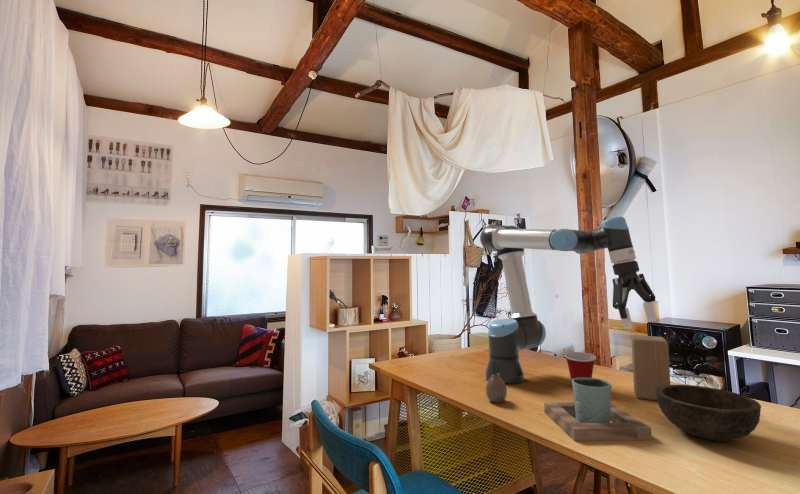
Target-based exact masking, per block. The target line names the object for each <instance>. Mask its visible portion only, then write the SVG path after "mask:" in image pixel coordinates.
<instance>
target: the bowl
mask: <svg viewBox="0 0 800 494" xmlns="http://www.w3.org/2000/svg"><path fill="white" fill-rule="evenodd" d="M656 396H657V401H656V402H657V404H658V406H659V409H660V410H661V412H662V413H663V414H664V416H665V417H666V418H667V420H668V422H671V423H672V424H673V425H674V426H675V427H677V428H678V429H680V430H682V431H684V432H686V433H688V434H689V435H691V436H694V437H698V438H701V439H705V440H710V441H716V442H727V441H733V440H739V439H742V438H745V437H747V436H749V435H750V434H752V432H754V430H756V428H757V426H758V425H759V423H760V418H761V410H762V405H761V404H760V403H759V402H758V401H756V400H755V399H752V398H751V397H748V396H745V395H744V394H739V393H736V392H734V391H733V392H732V391H729V390H724V389H719V388H715V387H710V386H709V387H708V386H702V385H692V384H691V385H690V384H670V385H665V386H660V387H658V388H657V389H656Z"/></svg>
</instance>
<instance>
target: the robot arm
mask: <svg viewBox="0 0 800 494" xmlns="http://www.w3.org/2000/svg"><path fill="white" fill-rule="evenodd" d="M600 223H601V224H600V226H601V227H599V228H595V229H591V230H582V229H581V230H580V229H579V230H578V229H577V230H576V229H570V228H558V229H555V228H553V229H549V228H548V229H547V228H545V229H543V228H541V229H540V228H532V229H531V228H520V227H518V226H514V225H501V224H500V225H499V224H490V225H488V226H486V227H484V228H483V229H482V230H481V233H480V237H479V240H480V243H481V246H482V247H483V248H484V249H486V250H487V251H491V252H496V253H497V254H496V255H497V258H498V259H499V260H501V262H502V269H503V273H504V279H505V284H506V290H507V296H508V301H509V306H510V311H511V315H510V316H509V317H508V318H500V319H496V320H495V319H494V320H492V321H491V322H490V323H489V324H488V332H487V334H488V352H489V353H488V362H487V365H486V368H485V372H484V373H485V374H484V375H485V377H486V378H487V379H488V380H489V379H490V378H491V376H492V374H499V375H500V377H501V379H502V380H503V381H504V383H509V384H508V385H513V383H516V384H520V382H521V383H523V382H524V381H525V374H524V371H523V368H522V365H521V362H520V355H519V353H520V352H519V351H522V350H528V349H534V348H537V347H539V346H541V345H543V343H544V341H545V339H546V335H547V333H546V327H545V325H544V324H543V323H542V322H541V321H540V320H539V319H538V315H537V314H536V313H535V312H534V311H533V308H532V304H531V299H530V295H529V294H530V293H529V288H528V287H529V286H528V284H527V278H526V273H525V267H524V263H523V258H522V257H523V256H524V254H525V250H526V249H528V250H529V249H530V250H544V251H545V250H548V251H559V252H574V253H576V254H578V255H581V254H589V253H591V252H596V251H600V250H604V249H605V250H606V249H607V251H608V254H609V259H610V262H611V264H612V269H613V273H614V275H615V276H618V277H616V278H615V277H614V278H613V279H612V284H613V286H612V287H613V290H612V308H614V309H615V310H618V313H619V316H620V319H621V322H622V327H623V329H624V330H630V329H634V325H633V322H632V318H631V314H630V310H629V308H628V307H627V304H628V298H629V296H630V295H629V294H630V291H631V290H634V291H635V293H637V295H638V296H639V297H640V298H641V299H642V300H643V303H642V306H643V308H644V313H645V316H646V319H647V322H648V323H650V322H658V319H657V313H656V311H655V308H654V304H653V302H655V301H656V295H655V293H654V292H653V290H652V288H651V287H650V285H649V283H648V282H647V280H646V277H645V276H644V274H643V273H639V272H640V267H639V263H638V261H637V260H636V259H637V257H636V253H635V252H636V251H635V249H634V245H633V242H632V238H631V234H630V230H629V229H630V227H629V226H628V224H627V220H626V218H625V217H624V216H616V217H610V218H606V219H604V220H602V221H601V222H600ZM486 378H485V379H486ZM487 379H486V380H487ZM488 380H487V381H488ZM522 381H523V382H522ZM511 383H512V384H511Z"/></svg>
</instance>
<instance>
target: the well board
mask: <svg viewBox="0 0 800 494" xmlns="http://www.w3.org/2000/svg"><path fill="white" fill-rule="evenodd" d="M574 403H575V402H574V401H554V402H553V401H549V402H548V401H546V402H545V401H544V402H543V407H544V408H543V409H544V411H543V412H544V414H546V415H547V416H548V417H549V419H550V420H552V422H554V423H555V424H556V425H557V426H558V427H559V428H560V429H561V430H562V431H564V433H565V434H567V435H568V437H570V438H571V440H572V441H574V442H579V441H580V442H583V441H584V442H586V441H589V442H590V441H591V442H592V441H593V442H594V441H596V442H597V441H641V440H642V441H644V440H645V441H647V440H648V441H649V440H650V441H651V440H653V439H652V427H650V426H649V425H648V424H645V423H644V422H642V421H641V420H639V419H638V418H636V417H634V416H633V415H631V414H629V413H628V412H627V411H625V410H623V409H621V408H620V407H618V406H616V405H615V404H613V403H612V402H611V403H610V404H611V409H610V423H580V422H579V421H577V420H576V413H575V404H574Z"/></svg>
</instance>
